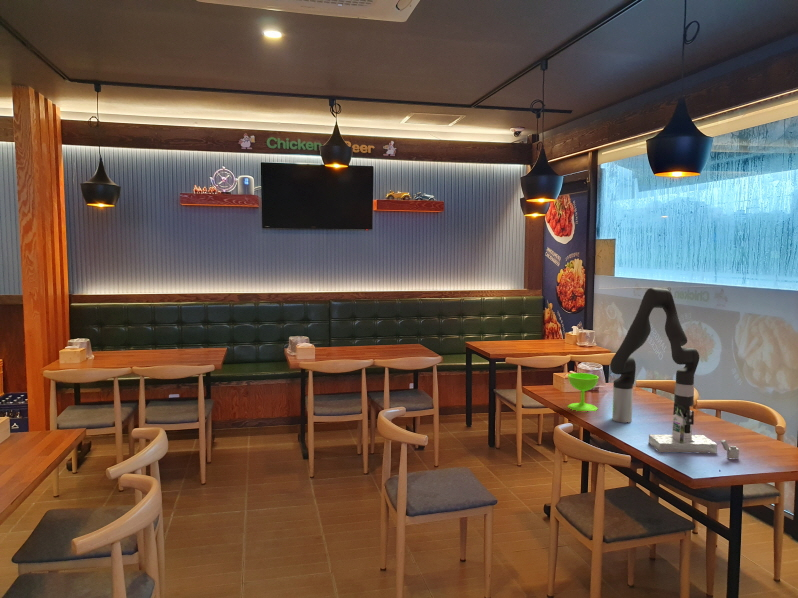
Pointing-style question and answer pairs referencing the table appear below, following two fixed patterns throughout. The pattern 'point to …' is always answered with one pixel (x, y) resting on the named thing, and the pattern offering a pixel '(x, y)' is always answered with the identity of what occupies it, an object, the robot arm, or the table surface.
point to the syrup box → (680, 430)
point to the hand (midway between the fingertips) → (682, 430)
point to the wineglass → (582, 389)
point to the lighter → (730, 450)
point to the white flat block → (683, 444)
